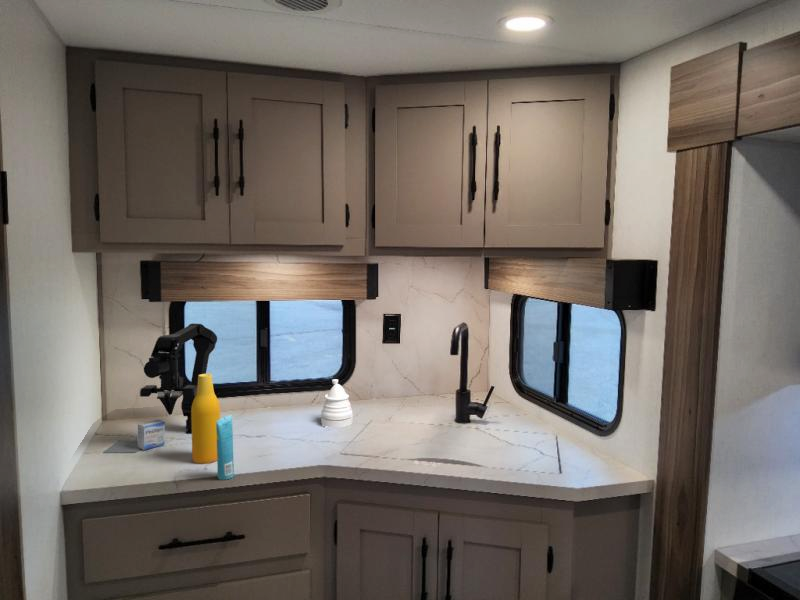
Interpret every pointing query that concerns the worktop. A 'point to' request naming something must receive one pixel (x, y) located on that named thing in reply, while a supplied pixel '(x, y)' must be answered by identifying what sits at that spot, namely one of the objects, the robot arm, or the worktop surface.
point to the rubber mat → (123, 447)
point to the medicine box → (151, 434)
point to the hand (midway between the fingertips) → (170, 414)
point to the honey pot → (337, 408)
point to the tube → (225, 448)
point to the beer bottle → (204, 421)
